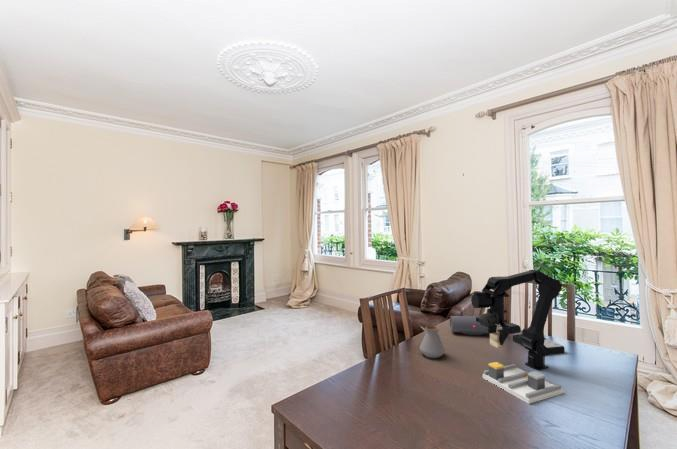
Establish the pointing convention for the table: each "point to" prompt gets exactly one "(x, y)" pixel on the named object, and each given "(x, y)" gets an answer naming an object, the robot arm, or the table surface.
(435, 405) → the table surface
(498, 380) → the breaker panel
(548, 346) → the multimeter
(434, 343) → the coffee pot
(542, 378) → the untagged breaker
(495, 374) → the block
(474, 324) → the bluetooth speaker
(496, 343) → the block
